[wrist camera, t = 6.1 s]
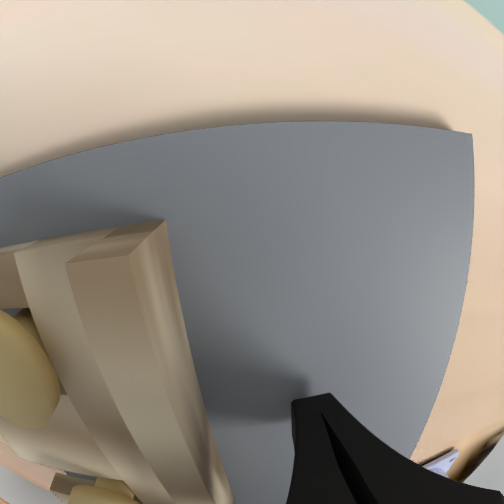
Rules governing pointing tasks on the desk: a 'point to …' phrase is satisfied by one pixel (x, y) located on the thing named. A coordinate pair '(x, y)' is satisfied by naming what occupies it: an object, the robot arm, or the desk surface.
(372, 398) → the keyhole board
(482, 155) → the desk surface
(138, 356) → the panel
